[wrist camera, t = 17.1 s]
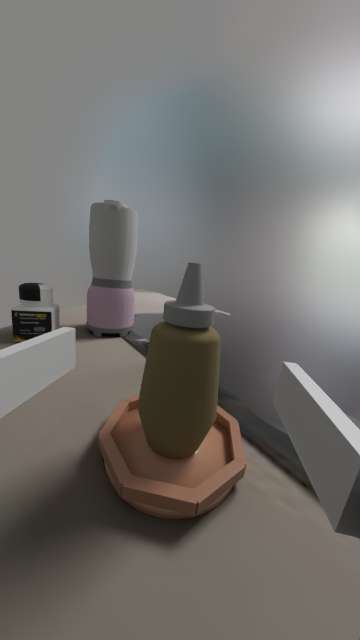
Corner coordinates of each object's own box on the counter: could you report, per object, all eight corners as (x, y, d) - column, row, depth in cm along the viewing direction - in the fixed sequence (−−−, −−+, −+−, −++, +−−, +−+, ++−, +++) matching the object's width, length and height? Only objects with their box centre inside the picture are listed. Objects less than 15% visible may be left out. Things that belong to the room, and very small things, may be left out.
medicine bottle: (13, 342, 43) (8, 283, 40) (26, 331, 50) (23, 280, 47) (52, 342, 46) (50, 287, 43) (60, 332, 52) (59, 283, 49)
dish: (231, 414, 29) (233, 400, 28) (250, 540, 15) (256, 518, 15) (133, 395, 30) (134, 382, 30) (70, 495, 17) (70, 473, 16)
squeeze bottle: (119, 455, 19) (131, 254, 15) (152, 405, 27) (165, 262, 23) (206, 484, 18) (245, 266, 14) (214, 421, 25) (241, 270, 21)
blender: (135, 338, 54) (144, 202, 46) (83, 338, 50) (84, 189, 42) (129, 322, 68) (136, 216, 61) (89, 321, 64) (90, 207, 57)
